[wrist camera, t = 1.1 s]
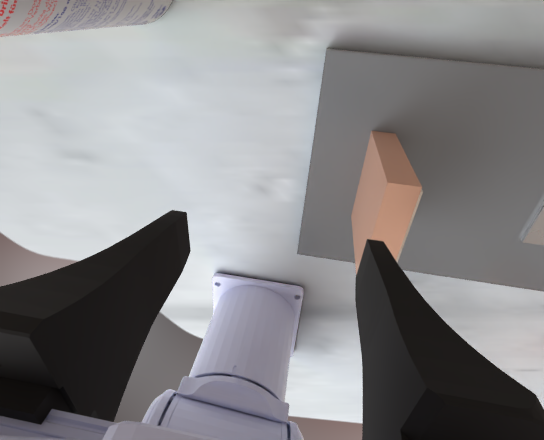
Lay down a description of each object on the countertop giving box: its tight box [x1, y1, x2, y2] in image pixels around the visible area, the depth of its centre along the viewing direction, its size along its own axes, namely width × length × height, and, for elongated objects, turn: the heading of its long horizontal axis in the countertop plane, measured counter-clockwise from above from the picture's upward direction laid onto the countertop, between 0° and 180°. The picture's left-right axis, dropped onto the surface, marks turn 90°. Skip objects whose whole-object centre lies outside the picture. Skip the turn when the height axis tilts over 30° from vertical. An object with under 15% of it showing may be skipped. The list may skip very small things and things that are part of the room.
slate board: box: [297, 48, 544, 291], centre depth 21 cm, size 14×18×1 cm
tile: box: [351, 131, 423, 275], centre depth 18 cm, size 6×2×7 cm, turn 176°
